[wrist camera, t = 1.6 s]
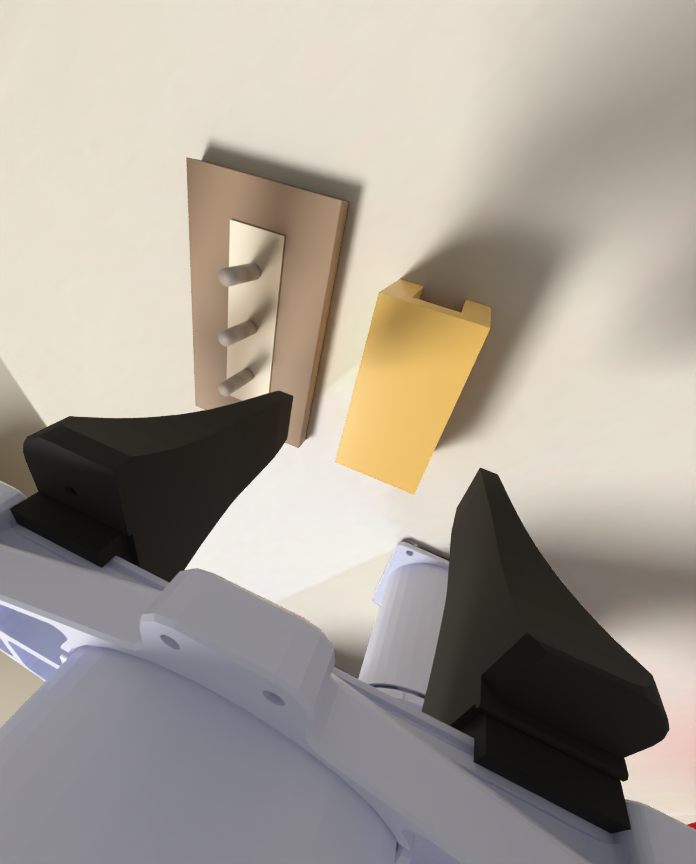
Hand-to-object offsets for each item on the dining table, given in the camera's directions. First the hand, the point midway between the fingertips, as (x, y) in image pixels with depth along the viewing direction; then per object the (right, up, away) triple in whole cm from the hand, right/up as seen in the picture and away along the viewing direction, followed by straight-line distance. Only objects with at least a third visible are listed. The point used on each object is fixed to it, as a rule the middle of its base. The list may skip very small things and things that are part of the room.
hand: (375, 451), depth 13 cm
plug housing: (+3, +4, +6) cm, 8 cm away
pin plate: (-6, +7, +8) cm, 12 cm away
